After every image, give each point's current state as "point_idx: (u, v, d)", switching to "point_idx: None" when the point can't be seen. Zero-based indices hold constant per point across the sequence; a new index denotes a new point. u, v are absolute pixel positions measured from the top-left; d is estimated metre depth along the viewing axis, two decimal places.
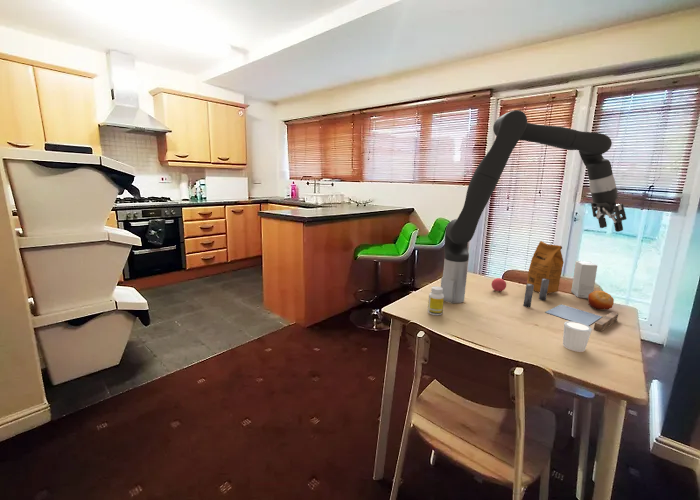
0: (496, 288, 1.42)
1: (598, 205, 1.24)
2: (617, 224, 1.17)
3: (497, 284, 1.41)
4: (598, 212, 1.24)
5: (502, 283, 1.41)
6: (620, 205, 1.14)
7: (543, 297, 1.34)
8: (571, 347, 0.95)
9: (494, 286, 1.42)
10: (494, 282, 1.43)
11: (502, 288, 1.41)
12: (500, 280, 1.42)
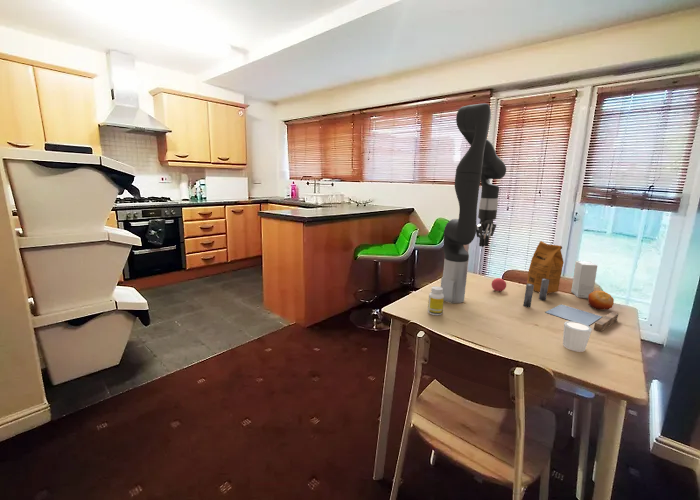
0: (496, 288, 1.42)
1: (484, 225, 1.43)
2: (488, 239, 1.48)
3: (497, 284, 1.41)
4: (487, 230, 1.44)
5: (502, 283, 1.41)
6: None
7: (543, 297, 1.34)
8: (571, 347, 0.95)
9: (494, 286, 1.42)
10: (494, 282, 1.43)
11: (502, 288, 1.41)
12: (500, 280, 1.42)
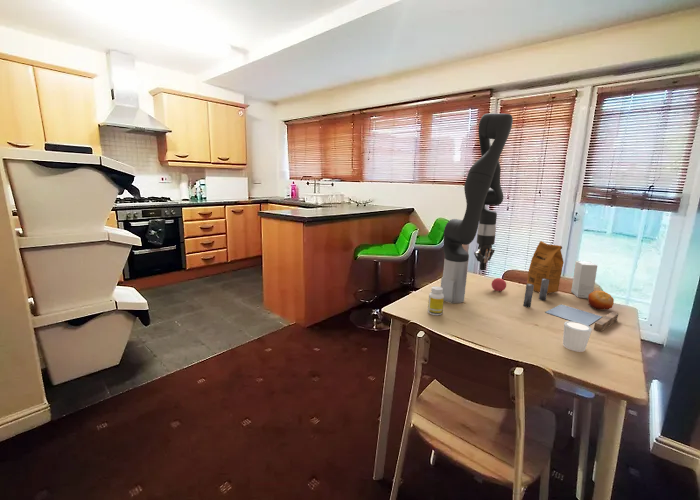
0: (496, 288, 1.42)
1: (483, 251, 1.45)
2: (485, 263, 1.49)
3: (497, 284, 1.41)
4: (486, 254, 1.46)
5: (502, 283, 1.41)
6: None
7: (543, 297, 1.34)
8: (571, 347, 0.95)
9: (494, 286, 1.42)
10: (494, 282, 1.43)
11: (502, 288, 1.41)
12: (500, 280, 1.42)
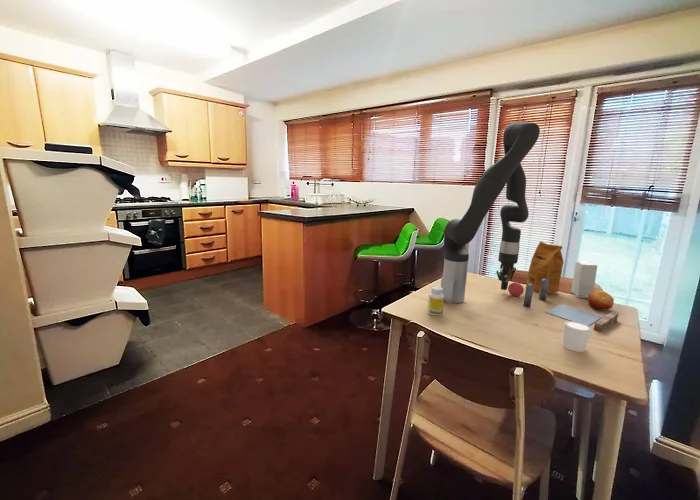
0: (510, 290, 1.37)
1: (505, 270, 1.38)
2: None
3: (514, 293, 1.36)
4: (508, 273, 1.39)
5: None
6: None
7: (543, 297, 1.34)
8: (571, 347, 0.95)
9: (512, 289, 1.36)
10: (517, 290, 1.35)
11: (510, 293, 1.39)
12: (518, 295, 1.36)
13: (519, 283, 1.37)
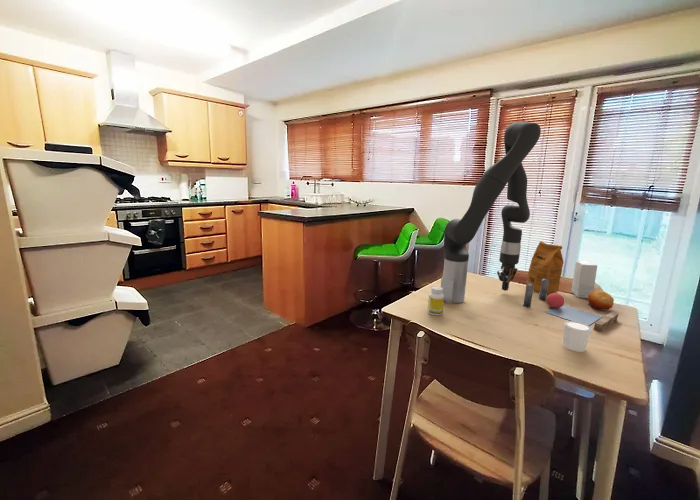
0: (550, 303, 1.25)
1: (506, 270, 1.37)
2: None
3: (555, 302, 1.24)
4: (509, 274, 1.38)
5: (561, 304, 1.24)
6: None
7: (543, 297, 1.34)
8: (571, 347, 0.95)
9: (551, 301, 1.25)
10: (554, 298, 1.24)
11: (556, 307, 1.25)
12: (562, 300, 1.24)
13: None
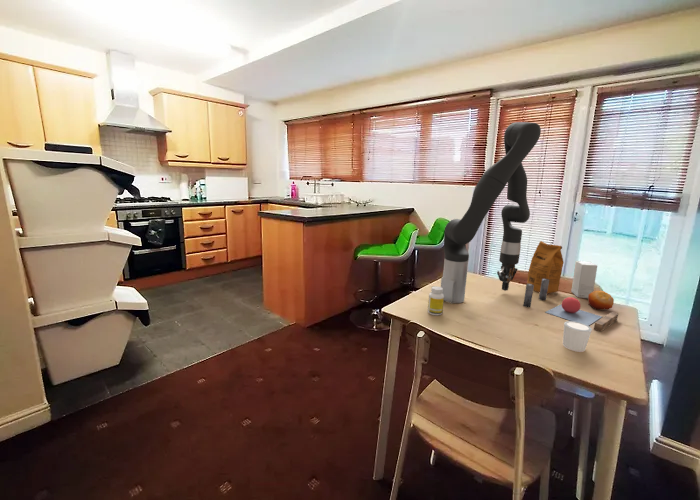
0: (566, 304, 1.21)
1: (506, 270, 1.37)
2: None
3: (567, 309, 1.21)
4: (509, 274, 1.38)
5: (565, 310, 1.23)
6: None
7: (543, 297, 1.34)
8: (571, 347, 0.95)
9: (569, 306, 1.20)
10: (573, 309, 1.20)
11: (562, 305, 1.23)
12: (570, 312, 1.22)
13: (579, 302, 1.20)
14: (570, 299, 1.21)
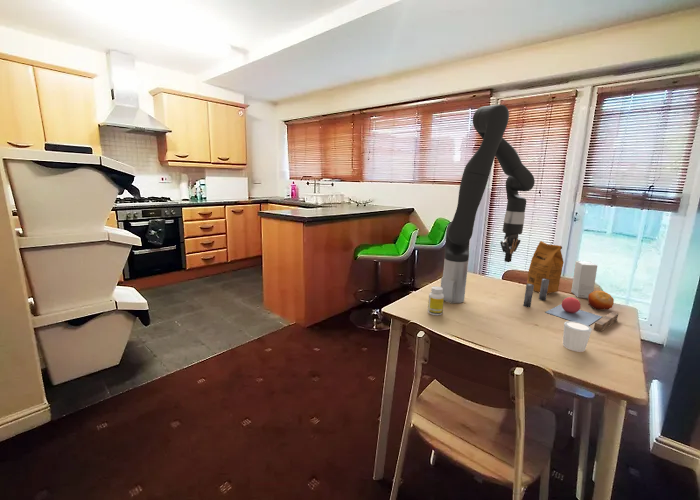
0: (566, 304, 1.21)
1: (510, 240, 1.34)
2: None
3: (567, 309, 1.21)
4: (513, 245, 1.36)
5: (565, 310, 1.23)
6: None
7: (543, 297, 1.34)
8: (571, 347, 0.95)
9: (569, 306, 1.20)
10: (573, 309, 1.20)
11: (562, 305, 1.23)
12: (570, 312, 1.22)
13: (579, 302, 1.20)
14: (570, 299, 1.21)
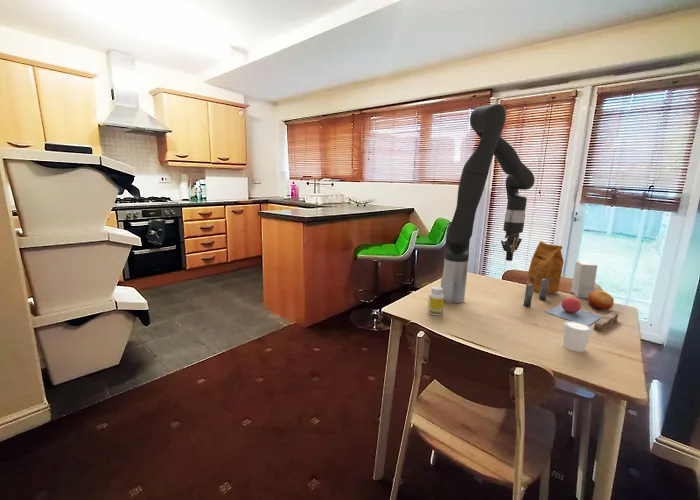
0: (566, 304, 1.21)
1: (510, 239, 1.34)
2: (512, 253, 1.38)
3: (567, 309, 1.21)
4: (514, 243, 1.35)
5: (565, 310, 1.23)
6: None
7: (543, 297, 1.34)
8: (571, 347, 0.95)
9: (569, 306, 1.20)
10: (573, 309, 1.20)
11: (562, 305, 1.23)
12: (570, 312, 1.22)
13: (579, 302, 1.20)
14: (570, 299, 1.21)
